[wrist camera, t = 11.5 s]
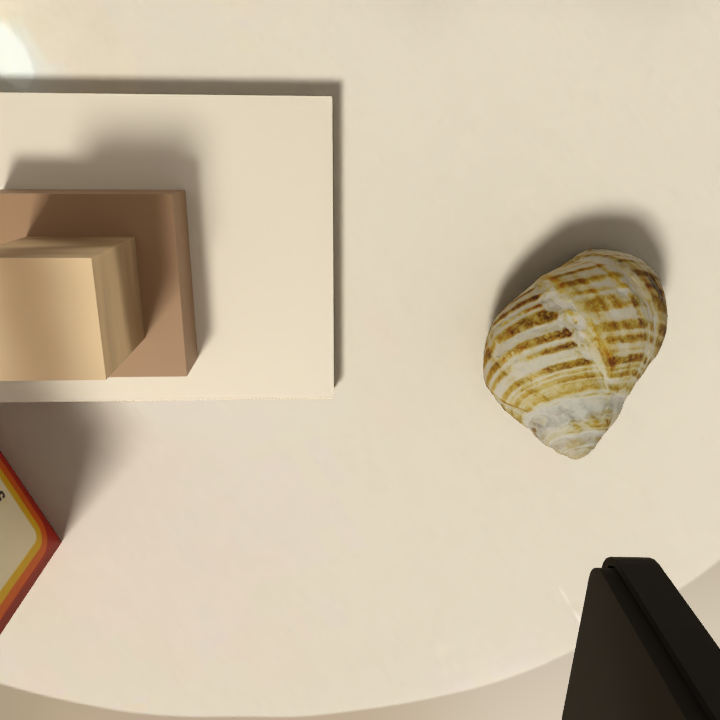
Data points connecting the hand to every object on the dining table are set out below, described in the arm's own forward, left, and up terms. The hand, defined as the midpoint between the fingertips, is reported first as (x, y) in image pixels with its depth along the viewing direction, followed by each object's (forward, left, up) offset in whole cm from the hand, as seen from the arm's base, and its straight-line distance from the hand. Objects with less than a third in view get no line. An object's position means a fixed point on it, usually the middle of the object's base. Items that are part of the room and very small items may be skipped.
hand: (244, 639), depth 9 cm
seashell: (-15, +4, -29) cm, 33 cm away
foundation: (+8, -1, -29) cm, 30 cm away
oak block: (+10, 0, -24) cm, 26 cm away
